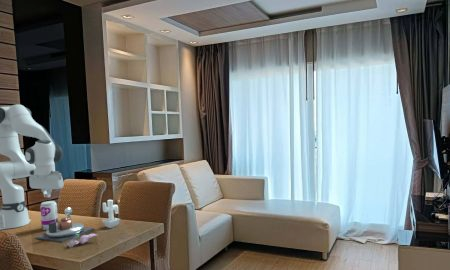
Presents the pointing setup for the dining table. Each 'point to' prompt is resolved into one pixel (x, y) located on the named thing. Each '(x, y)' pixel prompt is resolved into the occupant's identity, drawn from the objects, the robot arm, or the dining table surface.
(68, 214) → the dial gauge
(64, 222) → the cover
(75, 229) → the turntable
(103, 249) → the dining table surface
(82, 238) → the rabbit figure
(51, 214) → the supplement can
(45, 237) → the plinth
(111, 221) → the figurine
